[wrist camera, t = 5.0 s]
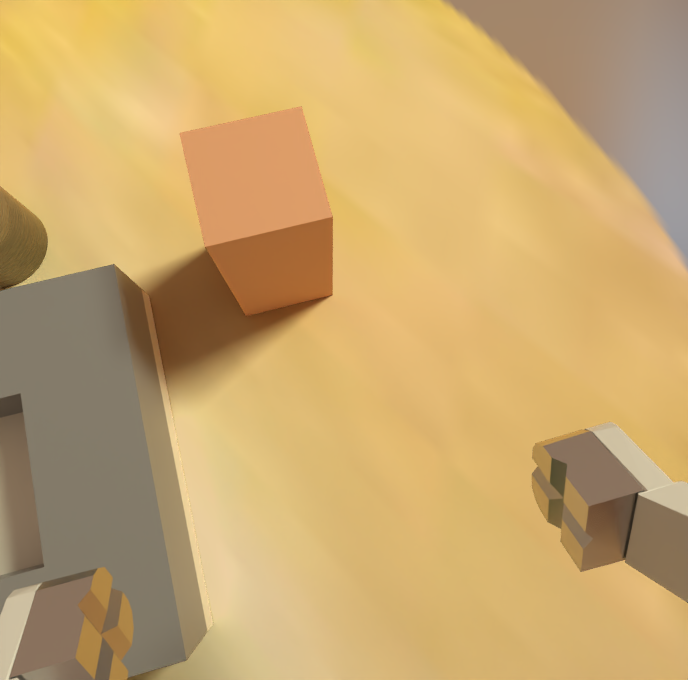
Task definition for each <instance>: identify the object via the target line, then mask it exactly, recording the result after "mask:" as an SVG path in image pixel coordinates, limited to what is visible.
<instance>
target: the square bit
mask: <svg viewBox="0 0 688 680" xmlns="http://www.w3.org/2000/svg"><path fill="white" fill-rule="evenodd" d="M180 137H181V142H182V146H183V151H184V155H185V160H186V164H187V168H188V173H189V177H190V182H191V186H192V191H193V195H194V200H195V204H196V209H197V213H198V218H199V222H200V226H201V231H202V235H203V240H204V244H205V248H206V249H207V251H208V253H209V254H210V256H211V258H212V259H213V261H214V263H215V265H216V266H217V268H218V270H219V271H220V273H221V275H222V276H223V278H224V280H225V281H226V283H227V285H228V286H229V288H230V290H231V291H232V293H233V295H234V297H235V298H236V300H237V302H238V303H239V305H240V307H241V308H242V310H243V312H244V313H245V315H246V316H250V315H254V314H258V313H262V312H266V311H270V310H274V309H278V308H282V307H286V306H290V305H294V304H298V303H302V302H306V301H310V300H314V299H318V298H322V297H326V296H330V295H332V275H333V216H332V213H331V209H330V206H329V202H328V199H327V195H326V192H325V188H324V184H323V181H322V177H321V174H320V170H319V167H318V163H317V160H316V156H315V153H314V149H313V145H312V142H311V138H310V135H309V131H308V128H307V124H306V121H305V117H304V114H303V110H302V106H301V107H297V108H292V109H287V110H283V111H278V112H274V113H269V114H265V115H260V116H255V117H251V118H246V119H242V120H237V121H233V122H228V123H223V124H219V125H214V126H210V127H205V128H201V129H196V130H191V131H187V132H182V133H180Z"/></svg>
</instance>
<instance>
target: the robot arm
mask: <svg viewBox="0 0 688 680" xmlns="http://www.w3.org/2000/svg"><path fill="white" fill-rule="evenodd" d="M532 458H533V460H534V461H535V463H536V464H537V465H538V467H537V468H536V469H535V471H534V472H533V473H532V489H533V492H534V496H535V500H536V502H537V504H538V506H539V508H540V510H541V512H542V514H543V515H544V517H545V518H546V520H547V522H549V523H551V524H553V525H555V526H556V527H558V528H560V529H561V541H560V542H561V543H562V545H563V546H564V548H565V549H566V551H567V552H568V554H569V555H570V557H571V558H572V560H573V561H574V563H575V564H576V566H577V567H578V569H579V570H580V572H582V571H586V570H590V569H593V568H597V567H601V566H604V565H608V564H612V563H615V562H619V561H622V560H625V563H627V564H628V565H630V566H631V567H633V568H634V569H636V570H638V571H639V572H641V573H642V574H644V575H645V576H647V577H648V578H650V579H652V580H653V581H655V582H656V583H658V584H659V585H661V586H663V587H664V588H666V589H667V590H669V591H670V592H672V593H673V594H675V595H677V596H678V597H680V598H681V599H683V600H684V601H686V602H687V603H688V483H686V482H684V481H679V482H675V483H674V482H673V481H672V480H671V479H670V478H669V477H668V476H667V475H666V474H665V473H664V472H663V471H662V470H661V469H660V468H659V467H658V466H657V465H656V464H655V463H654V462H653V461H652V460H651V459H650V458H649V457H648V456H647V455H646V454H645V453H644V452H643V451H642V450H641V449H640V448H639V447H638V446H637V445H636V444H635V443H634V442H633V441H632V440H631V439H630V438H629V437H628V436H627V435H626V434H625V433H624V432H623V431H622V430H621V429H620V428H619V427H618V426H617V425H616V424H614V423H612V422H608V423H604V424H601V425H597V426H594V427H590V428H587V429H585V430H578V431H575V432H572V433H568V434H565V435H562V436H558V437H555V438H552V439H548V440H545V441H542V442H538V443H535V445H534V447H533V453H532ZM112 580H113V577H112V576H111V574H110V573H109V572H108V571H107V569H106V568H105V567H102V568H96V569H93V570H89V571H85V572H81V573H77V574H73V575H69V576H65V577H61V578H57V579H53V580H50V581H46V582H43V583H39V584H35V585H31V586H28V587H24V588H20V589H16V590H14V591H13V592H12V593H11V594H10V595H9V597H8V598H7V599H6V601H5V603H4V606H3V609H2V612H1V615H0V680H127V678H128V670H127V668H126V667H125V665H124V664H123V662H122V661H121V660H122V659H123V657H124V656H125V654H126V653H127V651H128V650H129V648H130V647H131V646H132V639H133V630H134V626H133V615H132V609H131V607H130V604H129V601H128V599H127V597H126V596H125V594H124V593H123V592H122V591H119V590H116V589H113V588H111V586H112Z"/></svg>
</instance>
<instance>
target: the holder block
mask: <svg viewBox="0 0 688 680" xmlns="http://www.w3.org/2000/svg"><path fill="white" fill-rule="evenodd" d="M102 567H105V568H106V569H107V571H108V572H109V573H110V574H111V576H112V577H113V580H112V586H111V588H113V589H116V590H119V591H122V592H123V593H124V594H125V596H126V597H127V599H128V601H129V604H130V607H131V609H132V615H133V626H134V630H133V639H132V646H131V647H130V648H129V650H128V651H127V653H126V654H125V656H124V657H123V659H122V660H121V661H122V662H123V664H124V665H125V667H126V668H127V670H128V678H129V677H132V676H135V675H139V674H142V673H145V672H149V671H152V670H156V669H159V668H162V667H166V666H169V665H173V664H176V663H179V662H183V661H186V660H187V659H188V658H189V656H190V655H191V654H192V652H193V651H194V649H195V648H196V647H197V645H198V644H199V643H200V641H201V640H202V638H203V637H204V636H205V634H206V633H207V632H208V630H209V629H210V627H211V626H212V625H213V620H212V615H211V610H210V605H209V600H208V595H207V590H206V584H205V579H204V574H203V569H202V564H201V559H200V554H199V549H198V544H197V538H196V533H195V528H194V523H193V518H192V513H191V508H190V503H189V497H188V492H187V487H186V482H185V477H184V472H183V467H182V462H181V456H180V451H179V446H178V441H177V436H176V431H175V426H174V421H173V415H172V410H171V405H170V400H169V395H168V390H167V385H166V380H165V374H164V369H163V364H162V359H161V354H160V349H159V344H158V339H157V334H156V328H155V323H154V318H153V313H152V308H151V303H150V298H149V295H148V294H146V293H145V292H144V291H143V290H142V289H141V288H140V287H139V286H138V285H136V284H135V283H134V282H133V281H132V280H131V279H130V278H129V277H128V276H127V275H125V274H124V273H123V272H122V271H121V270H120V269H119V268H118V267H117V266H116V265H114V264H113V265H108V266H104V267H100V268H96V269H91V270H87V271H83V272H78V273H74V274H70V275H66V276H61V277H57V278H53V279H49V280H44V281H40V282H36V283H31V284H27V285H23V286H19V287H14V288H10V289H6V290H2V291H0V615H1V612H2V609H3V606H4V603H5V601H6V599H7V598H8V597H9V595H10V594H11V593H12V592H13V591H14V590H16V589H20V588H24V587H28V586H31V585H35V584H39V583H43V582H46V581H50V580H53V579H57V578H61V577H65V576H69V575H73V574H77V573H81V572H85V571H89V570H93V569H96V568H102Z"/></svg>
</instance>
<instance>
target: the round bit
mask: <svg viewBox="0 0 688 680" xmlns="http://www.w3.org/2000/svg"><path fill="white" fill-rule="evenodd" d="M47 243H48V240H47V233H46V230H45V228H44V226H43V224H42V222H41V221H40V220H39V218H38V217H36V216H35V215H34V214H33V213H32V212H31V211H29V210H28V209H27V208H26V207H25V206H23V205H22V204H21V203H20V202H19V201H17V200H16V199H15V198H14V197H13V196H11V195H10V194H9V193H8V192H7V191H5V190H4V189H3V188H2V187H1V186H0V288H4V287H9V286H13V285H16V284H18V283H20V282H22V281H24V280H26V279H27V278H28V277H30V276H31V275H32V274H33V273H34V272H35V271H36V270H37V269H38V268H39V266H40V265H41V263H42V261H43V259H44V257H45V254H46V251H47Z"/></svg>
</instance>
